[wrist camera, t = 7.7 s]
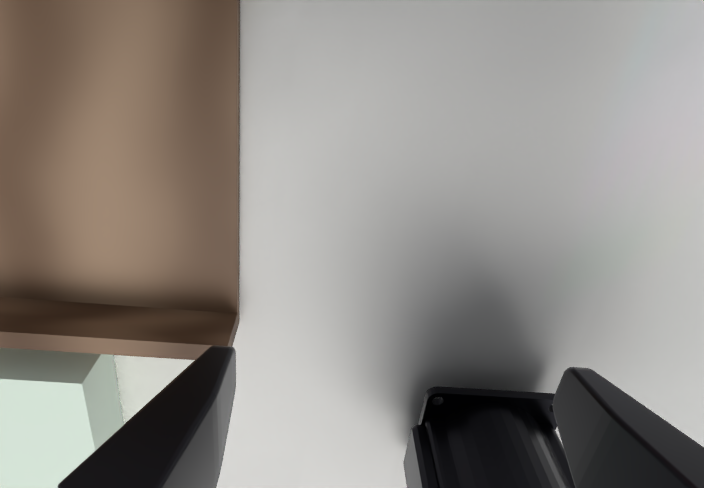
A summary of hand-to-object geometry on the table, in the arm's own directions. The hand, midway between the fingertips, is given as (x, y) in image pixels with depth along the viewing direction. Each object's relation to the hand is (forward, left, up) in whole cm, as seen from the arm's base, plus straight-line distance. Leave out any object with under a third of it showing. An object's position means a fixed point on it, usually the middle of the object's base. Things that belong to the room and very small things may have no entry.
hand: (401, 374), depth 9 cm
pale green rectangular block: (+14, +14, -11) cm, 23 cm away
